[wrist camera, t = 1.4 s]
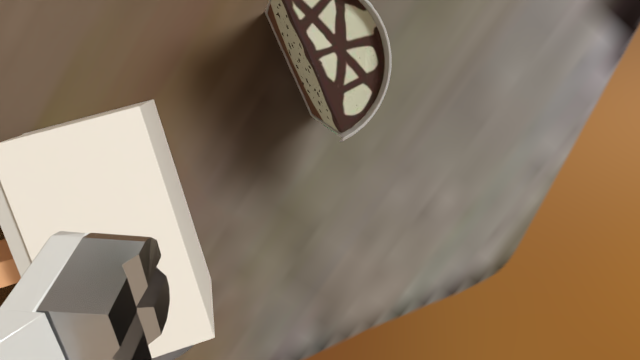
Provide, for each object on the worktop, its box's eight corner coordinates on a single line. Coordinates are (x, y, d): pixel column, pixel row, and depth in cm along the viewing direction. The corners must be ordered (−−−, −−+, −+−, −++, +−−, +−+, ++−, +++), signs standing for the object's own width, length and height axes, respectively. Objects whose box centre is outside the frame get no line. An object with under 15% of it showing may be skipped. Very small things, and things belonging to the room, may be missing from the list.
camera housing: (26, 132, 45) (-31, 151, 34) (153, 99, 46) (139, 106, 35) (101, 333, 49) (72, 408, 38) (216, 296, 50) (221, 358, 39)
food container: (381, 101, 50) (424, 107, 41) (318, 132, 49) (347, 145, 40) (324, -36, 47) (356, -65, 38) (256, -6, 46) (271, -28, 37)
